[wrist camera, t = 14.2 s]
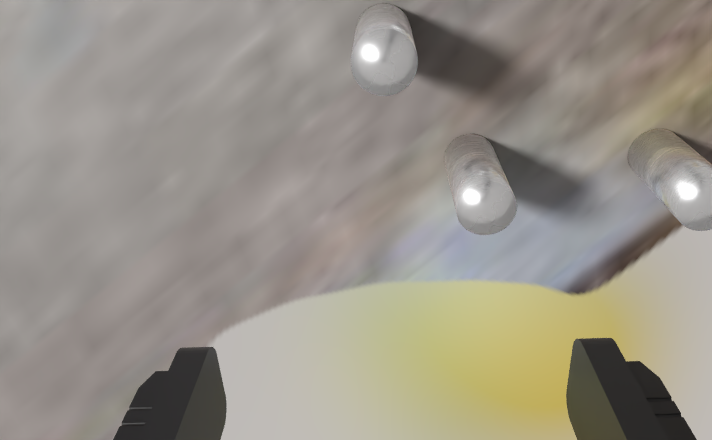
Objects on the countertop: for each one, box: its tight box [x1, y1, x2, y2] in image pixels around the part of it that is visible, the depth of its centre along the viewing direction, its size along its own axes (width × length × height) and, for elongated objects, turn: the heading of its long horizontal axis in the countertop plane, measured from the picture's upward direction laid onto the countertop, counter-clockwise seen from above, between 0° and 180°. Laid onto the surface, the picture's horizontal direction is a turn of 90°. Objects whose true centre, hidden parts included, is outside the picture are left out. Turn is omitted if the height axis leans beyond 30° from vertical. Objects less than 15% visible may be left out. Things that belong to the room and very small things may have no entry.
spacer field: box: [351, 3, 712, 235], centre depth 35 cm, size 22×23×8 cm
